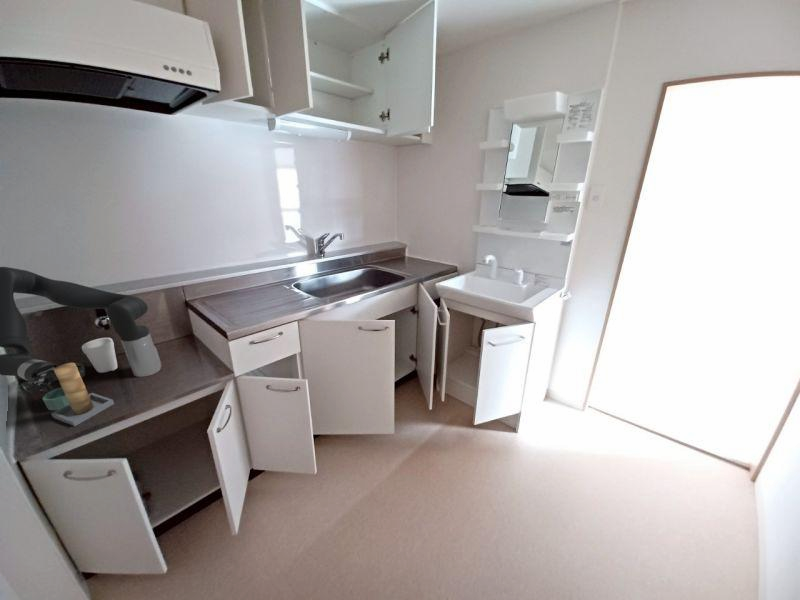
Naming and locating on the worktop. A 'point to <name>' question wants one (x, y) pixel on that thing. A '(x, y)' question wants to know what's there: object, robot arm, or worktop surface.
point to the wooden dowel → (74, 388)
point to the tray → (72, 419)
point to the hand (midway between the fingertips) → (67, 380)
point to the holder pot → (55, 399)
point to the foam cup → (101, 354)
